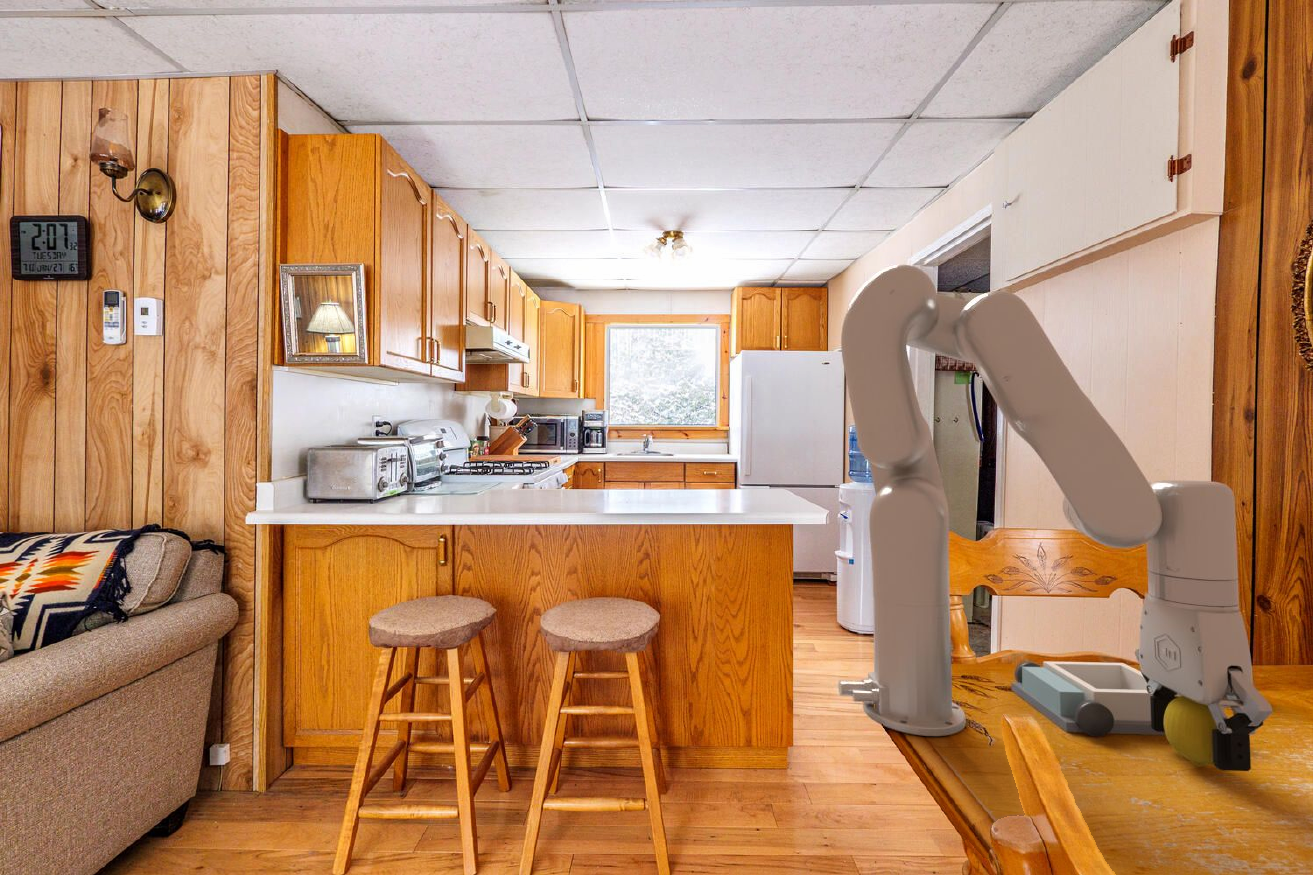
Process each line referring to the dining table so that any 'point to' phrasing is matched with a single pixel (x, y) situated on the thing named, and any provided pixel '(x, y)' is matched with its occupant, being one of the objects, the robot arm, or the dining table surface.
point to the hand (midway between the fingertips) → (1197, 747)
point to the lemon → (1190, 730)
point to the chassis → (1087, 696)
